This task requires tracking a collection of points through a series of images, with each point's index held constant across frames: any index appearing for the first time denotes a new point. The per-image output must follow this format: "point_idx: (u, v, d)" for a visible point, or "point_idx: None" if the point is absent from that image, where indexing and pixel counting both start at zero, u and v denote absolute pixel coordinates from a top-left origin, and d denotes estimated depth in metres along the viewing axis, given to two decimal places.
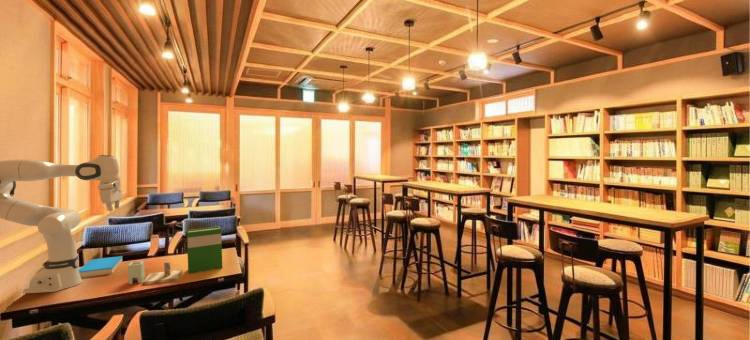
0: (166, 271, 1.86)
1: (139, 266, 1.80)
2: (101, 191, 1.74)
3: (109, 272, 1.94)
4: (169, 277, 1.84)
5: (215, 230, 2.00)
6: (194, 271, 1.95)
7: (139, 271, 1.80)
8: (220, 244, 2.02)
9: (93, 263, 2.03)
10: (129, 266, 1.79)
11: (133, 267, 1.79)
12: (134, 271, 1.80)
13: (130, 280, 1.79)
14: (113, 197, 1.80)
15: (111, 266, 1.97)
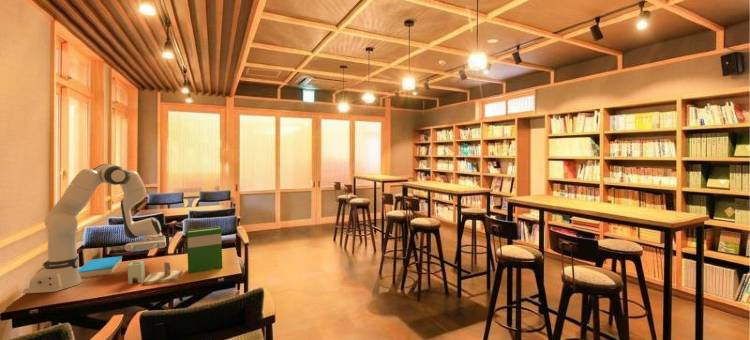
0: (166, 271, 1.86)
1: (139, 266, 1.80)
2: None
3: (109, 272, 1.94)
4: (169, 277, 1.84)
5: (215, 230, 2.00)
6: (194, 271, 1.95)
7: (139, 271, 1.80)
8: (220, 244, 2.02)
9: (92, 263, 2.02)
10: (129, 266, 1.79)
11: (133, 267, 1.79)
12: (134, 271, 1.80)
13: (130, 280, 1.79)
14: None
15: (111, 266, 1.97)
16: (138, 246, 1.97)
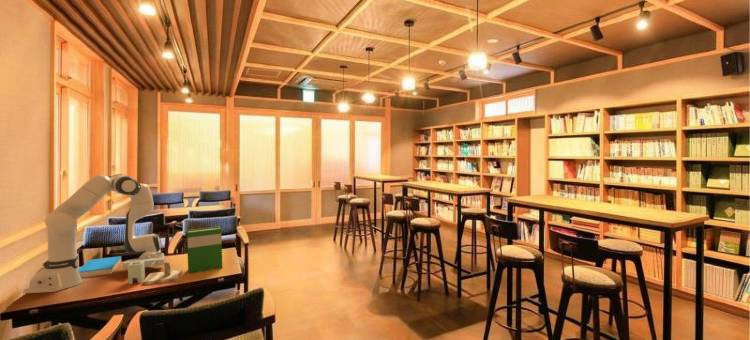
0: (166, 271, 1.86)
1: (139, 266, 1.80)
2: None
3: (108, 272, 1.94)
4: (169, 277, 1.84)
5: (215, 230, 2.00)
6: (194, 271, 1.95)
7: (139, 271, 1.80)
8: (220, 244, 2.02)
9: (92, 263, 2.02)
10: (129, 266, 1.79)
11: (133, 267, 1.79)
12: (134, 271, 1.80)
13: (130, 280, 1.79)
14: None
15: (110, 266, 1.97)
16: None
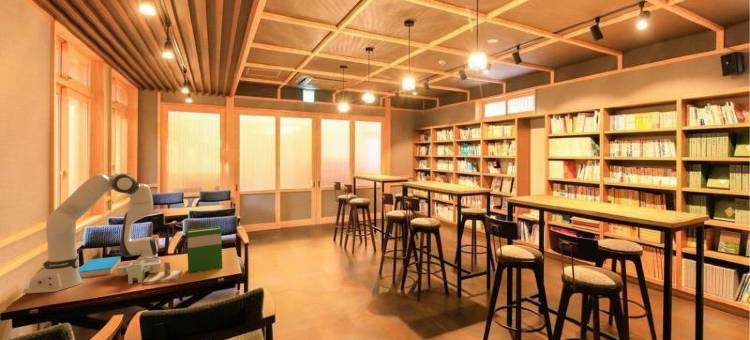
0: (166, 271, 1.86)
1: (139, 266, 1.80)
2: None
3: (108, 272, 1.94)
4: (169, 277, 1.84)
5: (215, 230, 2.00)
6: (194, 271, 1.95)
7: (139, 271, 1.80)
8: (220, 244, 2.02)
9: (91, 263, 2.02)
10: (129, 266, 1.79)
11: (133, 267, 1.79)
12: (134, 271, 1.80)
13: (130, 280, 1.79)
14: None
15: (110, 266, 1.97)
16: None
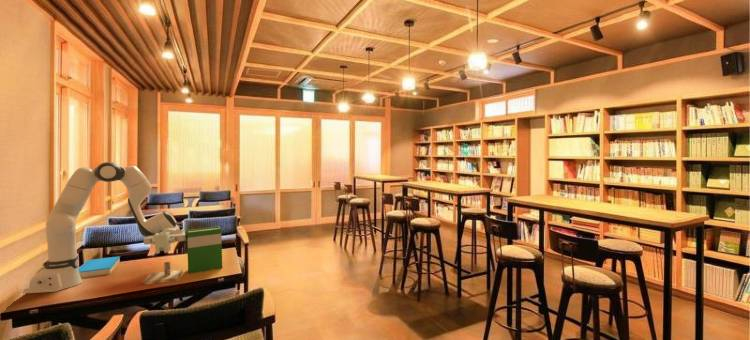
0: (166, 271, 1.86)
1: (165, 236, 1.84)
2: None
3: (107, 272, 1.94)
4: (169, 277, 1.84)
5: (215, 230, 2.00)
6: (194, 271, 1.95)
7: (165, 241, 1.84)
8: (220, 244, 2.02)
9: (90, 263, 2.02)
10: (156, 236, 1.82)
11: (160, 237, 1.83)
12: (161, 241, 1.83)
13: (157, 250, 1.83)
14: None
15: (109, 266, 1.97)
16: None
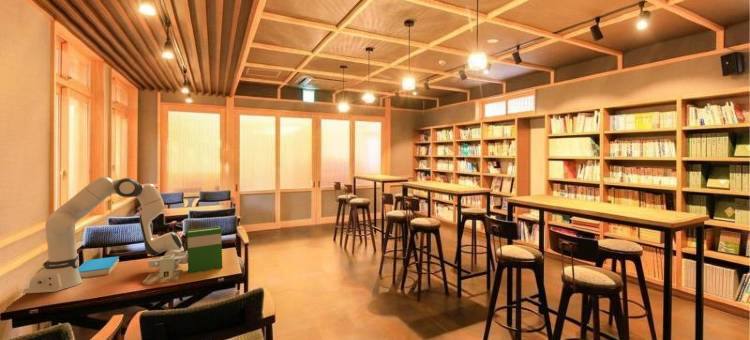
0: None
1: (170, 260, 1.85)
2: None
3: (106, 272, 1.94)
4: (169, 277, 1.84)
5: (215, 230, 2.00)
6: (194, 271, 1.95)
7: (170, 265, 1.85)
8: (220, 244, 2.02)
9: (90, 263, 2.02)
10: (160, 260, 1.84)
11: (164, 261, 1.84)
12: (165, 265, 1.85)
13: (161, 274, 1.84)
14: None
15: (108, 266, 1.97)
16: None
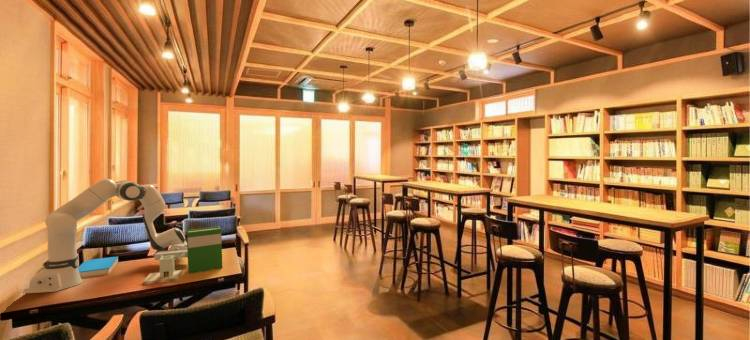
0: None
1: (170, 260, 1.85)
2: None
3: (106, 272, 1.94)
4: (169, 277, 1.84)
5: (215, 230, 2.00)
6: (194, 271, 1.95)
7: (170, 265, 1.85)
8: (220, 244, 2.02)
9: (89, 264, 2.02)
10: (160, 260, 1.84)
11: (164, 261, 1.84)
12: (165, 265, 1.85)
13: (161, 274, 1.84)
14: None
15: (108, 266, 1.96)
16: (167, 255, 2.02)
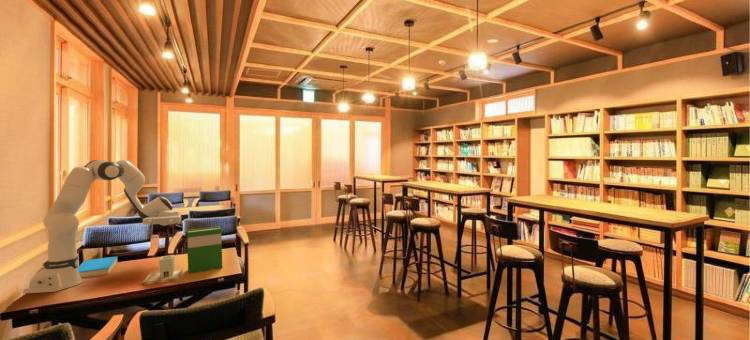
0: None
1: (170, 260, 1.85)
2: None
3: (105, 272, 1.94)
4: (169, 277, 1.84)
5: (215, 230, 2.00)
6: (194, 271, 1.95)
7: (170, 265, 1.85)
8: (220, 244, 2.02)
9: (88, 264, 2.02)
10: (160, 260, 1.84)
11: (164, 261, 1.84)
12: (165, 265, 1.85)
13: (161, 274, 1.84)
14: None
15: (107, 266, 1.96)
16: (155, 220, 2.06)
